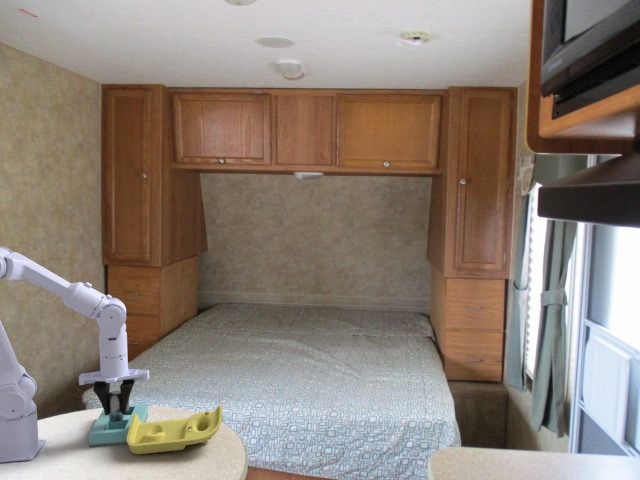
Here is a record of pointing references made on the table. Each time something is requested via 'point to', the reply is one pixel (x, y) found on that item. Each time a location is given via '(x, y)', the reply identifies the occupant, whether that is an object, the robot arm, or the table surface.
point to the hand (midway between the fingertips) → (116, 412)
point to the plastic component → (172, 432)
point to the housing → (115, 427)
